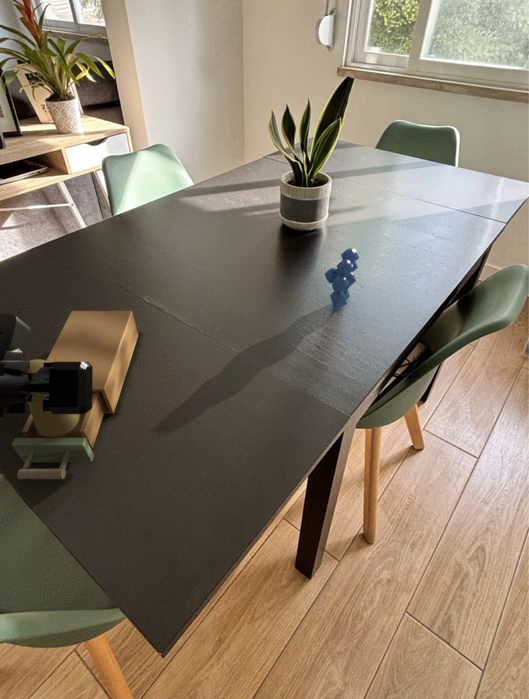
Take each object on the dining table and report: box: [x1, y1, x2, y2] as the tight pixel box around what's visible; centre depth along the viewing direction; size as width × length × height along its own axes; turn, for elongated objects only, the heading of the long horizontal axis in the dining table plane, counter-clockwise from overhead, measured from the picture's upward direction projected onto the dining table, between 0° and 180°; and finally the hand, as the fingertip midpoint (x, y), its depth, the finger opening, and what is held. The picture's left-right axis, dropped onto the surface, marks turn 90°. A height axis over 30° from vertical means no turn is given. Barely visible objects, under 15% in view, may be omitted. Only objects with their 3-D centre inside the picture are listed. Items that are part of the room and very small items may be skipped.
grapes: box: [324, 247, 360, 310], centre depth 88 cm, size 12×7×12 cm, turn 158°
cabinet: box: [45, 310, 139, 415], centre depth 75 cm, size 19×11×6 cm, turn 0°
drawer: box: [11, 392, 107, 480], centre depth 66 cm, size 22×10×5 cm, turn 0°
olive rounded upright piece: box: [26, 358, 80, 438], centre depth 59 cm, size 6×6×11 cm
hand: (46, 383), depth 59 cm, fingers closed on olive rounded upright piece, 5 cm apart
